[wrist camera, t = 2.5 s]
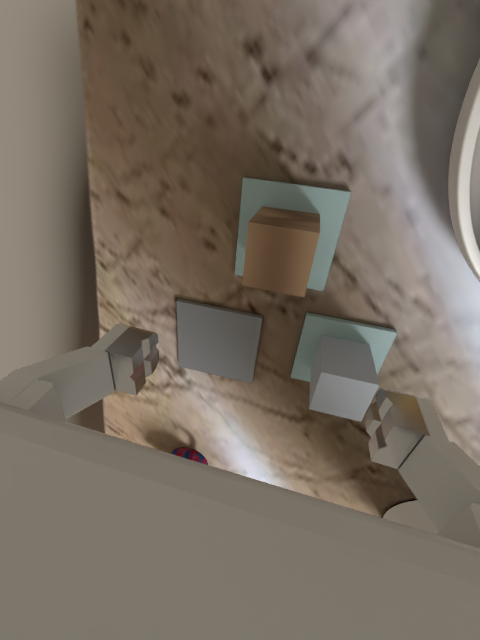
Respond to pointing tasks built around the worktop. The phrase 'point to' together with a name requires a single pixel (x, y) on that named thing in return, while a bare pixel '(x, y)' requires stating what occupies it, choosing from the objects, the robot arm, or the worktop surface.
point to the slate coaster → (217, 340)
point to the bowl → (467, 176)
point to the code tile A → (298, 199)
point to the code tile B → (342, 329)
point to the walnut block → (280, 250)
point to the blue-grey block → (342, 378)
